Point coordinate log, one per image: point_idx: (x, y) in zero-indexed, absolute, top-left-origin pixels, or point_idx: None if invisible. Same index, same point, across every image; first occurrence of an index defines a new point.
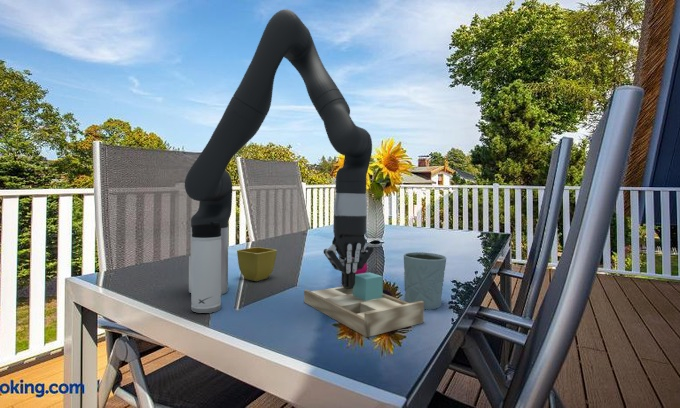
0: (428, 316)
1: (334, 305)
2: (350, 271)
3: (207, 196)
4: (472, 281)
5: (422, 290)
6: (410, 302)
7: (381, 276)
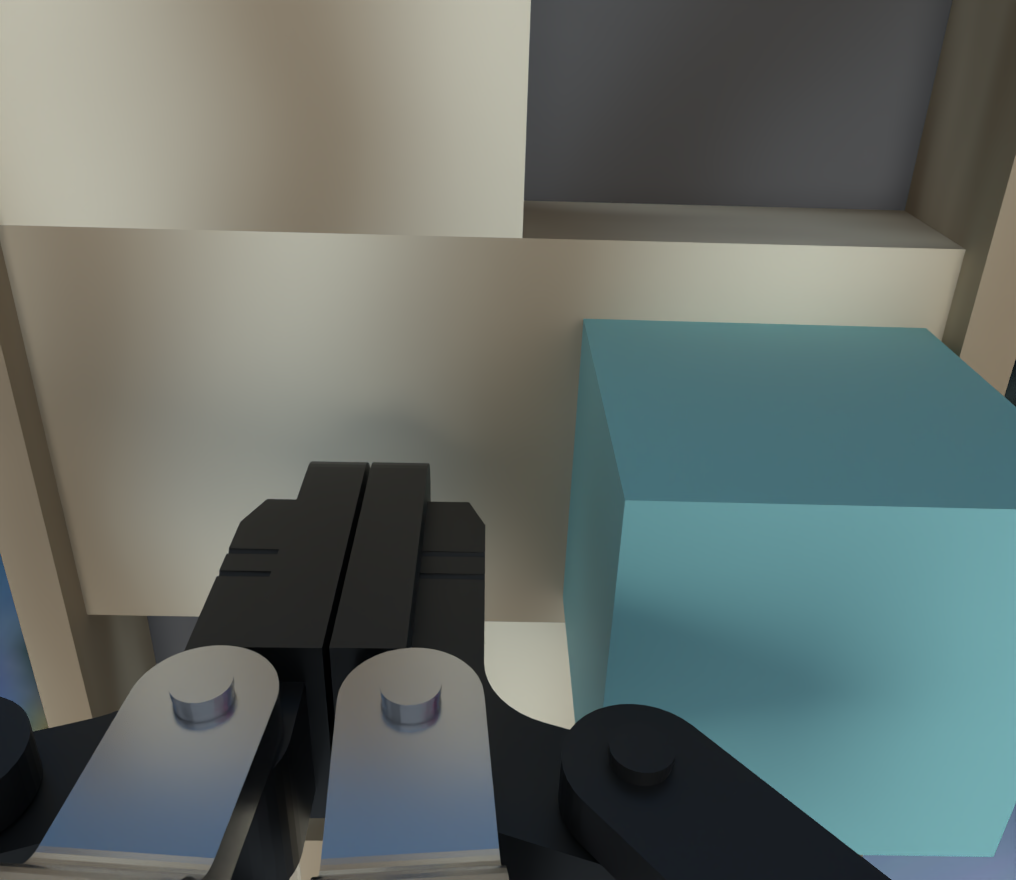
0: (941, 865)
1: (28, 645)
2: (298, 868)
3: None
4: None
5: None
6: None
7: (972, 848)
